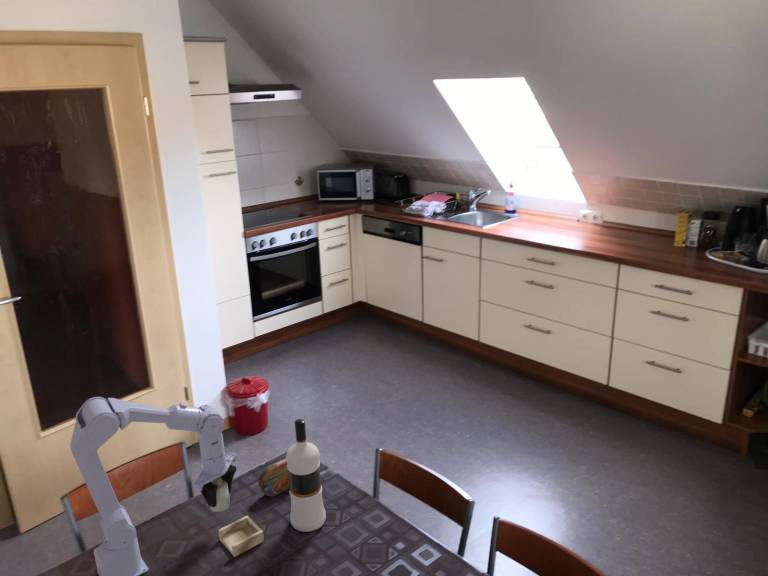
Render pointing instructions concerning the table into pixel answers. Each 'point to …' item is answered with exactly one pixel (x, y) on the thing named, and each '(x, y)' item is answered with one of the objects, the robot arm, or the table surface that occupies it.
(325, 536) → the table surface
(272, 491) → the tin
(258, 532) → the wooden box
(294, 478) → the vodka
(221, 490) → the bottle
